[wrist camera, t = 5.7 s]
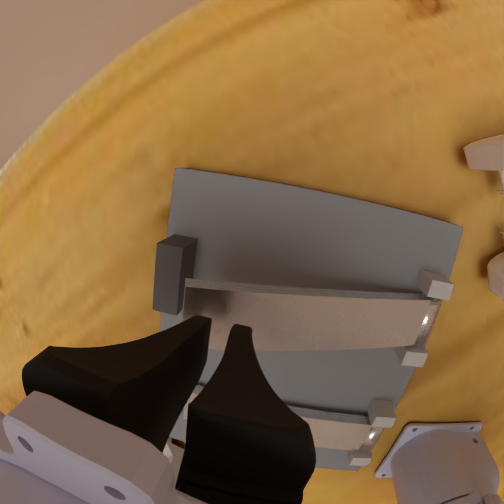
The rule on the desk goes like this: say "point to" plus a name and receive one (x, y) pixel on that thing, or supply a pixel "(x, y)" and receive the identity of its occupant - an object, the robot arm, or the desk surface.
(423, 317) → the front strap
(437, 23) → the desk surface
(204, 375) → the base plate
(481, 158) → the cable organizer
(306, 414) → the strip
